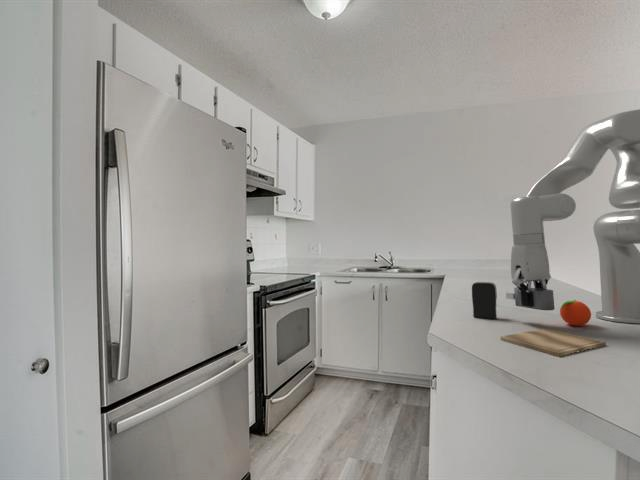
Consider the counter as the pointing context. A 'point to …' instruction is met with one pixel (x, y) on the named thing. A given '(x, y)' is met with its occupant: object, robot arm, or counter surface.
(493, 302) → the battery charger
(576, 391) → the counter surface
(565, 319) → the clementine
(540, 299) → the usb stick
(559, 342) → the board
